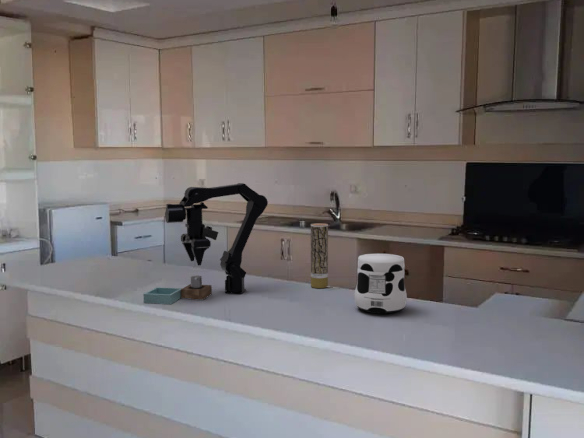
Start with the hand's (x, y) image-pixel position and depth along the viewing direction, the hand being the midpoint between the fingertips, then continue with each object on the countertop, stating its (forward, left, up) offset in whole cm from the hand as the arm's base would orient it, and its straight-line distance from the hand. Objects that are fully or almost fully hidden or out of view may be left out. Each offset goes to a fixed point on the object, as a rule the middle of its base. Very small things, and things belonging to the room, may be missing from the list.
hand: (195, 263), depth 209 cm
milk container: (-68, +5, -13) cm, 69 cm away
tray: (+10, +7, -13) cm, 18 cm away
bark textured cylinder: (-42, -24, -13) cm, 50 cm away
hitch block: (0, 0, -13) cm, 13 cm away
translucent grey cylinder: (0, 0, -13) cm, 13 cm away
